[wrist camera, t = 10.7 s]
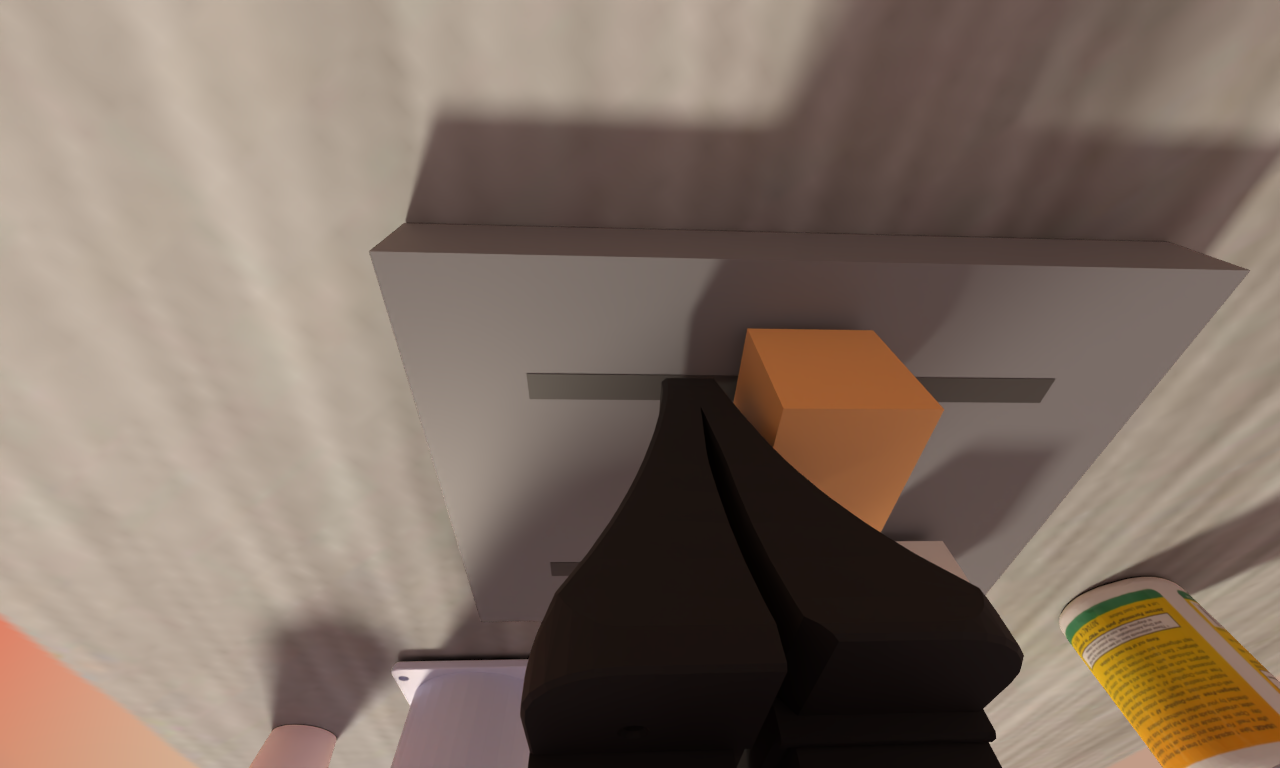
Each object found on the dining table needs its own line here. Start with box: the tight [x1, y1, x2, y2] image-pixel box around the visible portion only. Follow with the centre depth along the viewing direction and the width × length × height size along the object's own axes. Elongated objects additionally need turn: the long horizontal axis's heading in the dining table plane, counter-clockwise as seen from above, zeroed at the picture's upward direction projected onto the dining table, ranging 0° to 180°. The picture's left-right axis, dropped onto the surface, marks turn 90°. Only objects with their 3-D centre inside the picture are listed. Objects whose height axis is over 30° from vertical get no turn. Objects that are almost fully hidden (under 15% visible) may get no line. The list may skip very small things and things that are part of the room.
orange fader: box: [733, 328, 944, 532], centre depth 11 cm, size 4×3×3 cm
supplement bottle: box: [1059, 577, 1280, 768], centre depth 20 cm, size 5×5×10 cm
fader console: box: [369, 223, 1250, 622], centre depth 16 cm, size 15×20×2 cm
